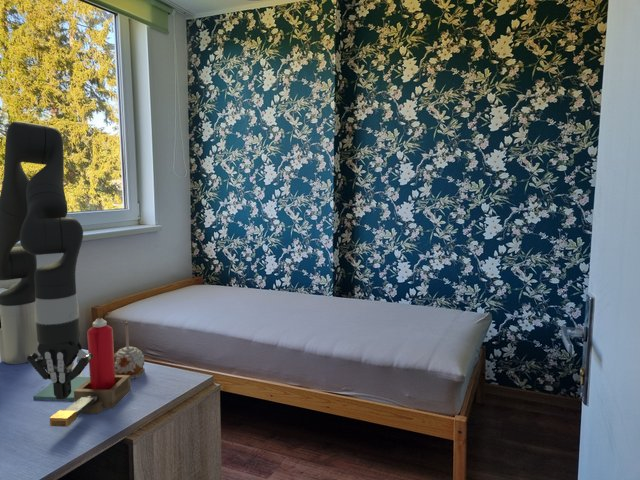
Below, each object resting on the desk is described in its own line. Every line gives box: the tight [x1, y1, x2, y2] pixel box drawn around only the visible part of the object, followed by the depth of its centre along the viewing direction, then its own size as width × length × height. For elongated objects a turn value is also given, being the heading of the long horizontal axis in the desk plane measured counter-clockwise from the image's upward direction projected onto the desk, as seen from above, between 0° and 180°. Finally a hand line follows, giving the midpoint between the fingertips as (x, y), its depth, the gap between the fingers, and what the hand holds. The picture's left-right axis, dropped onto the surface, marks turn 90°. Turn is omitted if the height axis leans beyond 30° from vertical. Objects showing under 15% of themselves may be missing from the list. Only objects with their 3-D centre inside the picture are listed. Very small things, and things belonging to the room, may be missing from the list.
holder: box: [73, 375, 131, 415], centre depth 106 cm, size 9×12×4 cm
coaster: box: [32, 376, 90, 402], centre depth 112 cm, size 11×11×1 cm
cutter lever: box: [49, 396, 99, 428], centre depth 96 cm, size 12×4×2 cm, turn 178°
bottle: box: [86, 317, 116, 390], centre depth 106 cm, size 5×6×20 cm
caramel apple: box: [114, 321, 145, 380], centre depth 119 cm, size 8×8×15 cm
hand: (62, 397), depth 91 cm, fingers closed
